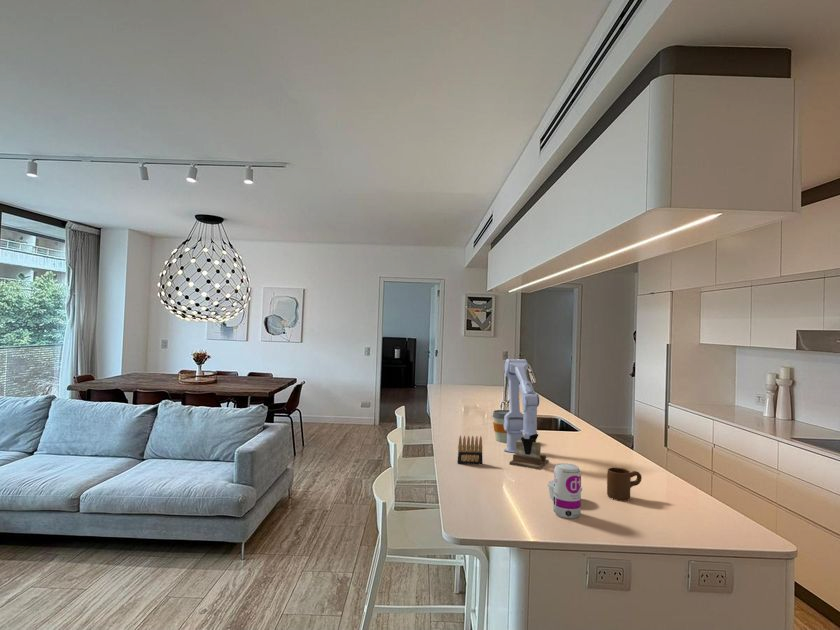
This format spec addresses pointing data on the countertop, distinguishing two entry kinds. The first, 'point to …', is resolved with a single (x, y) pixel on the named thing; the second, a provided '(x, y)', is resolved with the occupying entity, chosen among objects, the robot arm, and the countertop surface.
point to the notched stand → (529, 461)
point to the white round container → (551, 489)
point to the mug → (621, 483)
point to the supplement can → (567, 491)
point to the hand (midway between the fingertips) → (529, 452)
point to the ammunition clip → (470, 451)
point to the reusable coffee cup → (500, 425)
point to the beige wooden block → (534, 451)
